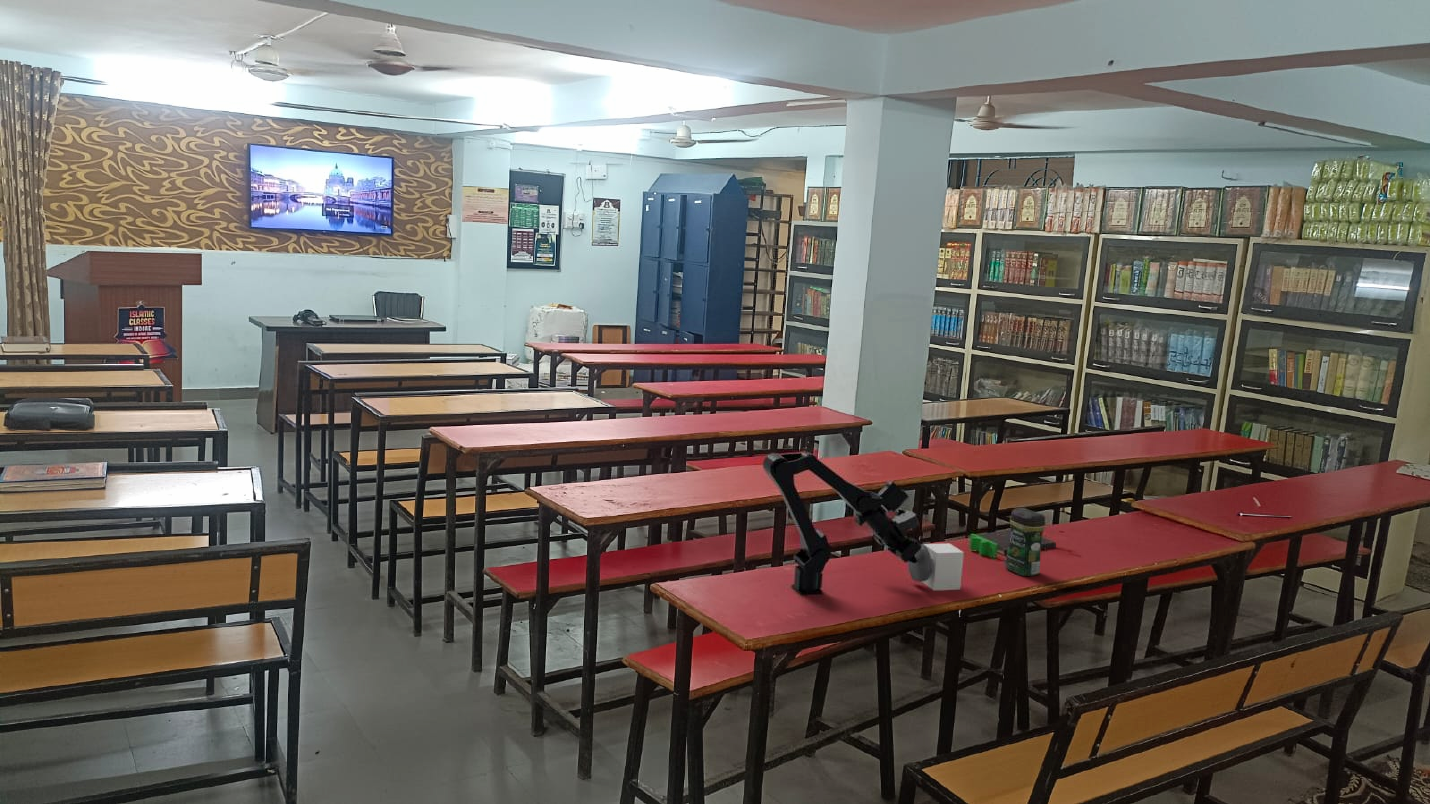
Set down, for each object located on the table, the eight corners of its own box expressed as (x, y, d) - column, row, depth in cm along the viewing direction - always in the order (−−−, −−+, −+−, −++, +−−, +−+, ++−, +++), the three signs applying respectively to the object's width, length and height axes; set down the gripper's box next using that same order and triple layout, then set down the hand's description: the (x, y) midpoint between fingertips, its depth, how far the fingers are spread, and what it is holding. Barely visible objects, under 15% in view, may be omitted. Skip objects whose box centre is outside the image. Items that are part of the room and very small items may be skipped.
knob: (922, 586, 264) (926, 551, 262) (906, 574, 273) (909, 539, 272) (946, 586, 266) (949, 550, 264) (929, 573, 275) (932, 539, 273)
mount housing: (933, 590, 266) (937, 553, 264) (920, 580, 274) (923, 544, 272) (960, 589, 268) (963, 552, 266) (946, 579, 276) (949, 543, 274)
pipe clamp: (962, 548, 307) (964, 534, 306) (972, 547, 308) (973, 533, 308) (987, 559, 297) (988, 544, 296) (996, 558, 298) (998, 543, 298)
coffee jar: (999, 567, 289) (1006, 506, 286) (1020, 565, 292) (1026, 504, 289) (1023, 578, 280) (1030, 515, 277) (1044, 575, 284) (1051, 513, 281)
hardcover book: (966, 542, 315) (967, 535, 314) (1017, 535, 326) (1018, 528, 326) (1004, 557, 301) (1004, 550, 301) (1055, 549, 313) (1056, 542, 312)
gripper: (917, 512, 255) (952, 551, 259) (887, 493, 272) (920, 531, 277) (887, 542, 254) (922, 581, 258) (859, 522, 272) (892, 558, 276)
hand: (915, 561), depth 268 cm, fingers closed, pressing on knob
